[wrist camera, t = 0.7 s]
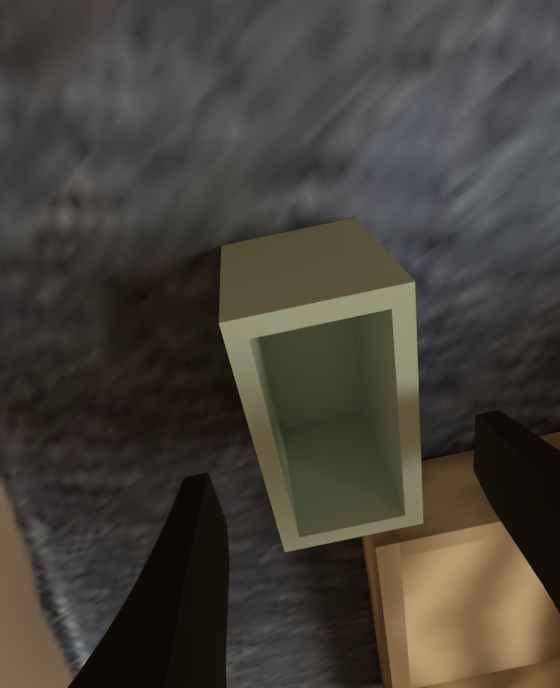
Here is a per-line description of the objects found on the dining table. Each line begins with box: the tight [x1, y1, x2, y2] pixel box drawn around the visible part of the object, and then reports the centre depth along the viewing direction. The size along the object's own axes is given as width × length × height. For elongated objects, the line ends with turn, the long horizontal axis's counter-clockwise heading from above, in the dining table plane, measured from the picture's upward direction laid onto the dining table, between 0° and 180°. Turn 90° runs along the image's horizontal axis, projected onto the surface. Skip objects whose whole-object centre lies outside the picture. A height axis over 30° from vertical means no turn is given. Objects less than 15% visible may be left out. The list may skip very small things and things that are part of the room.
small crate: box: [219, 217, 423, 552], centre depth 16 cm, size 5×9×6 cm, turn 10°
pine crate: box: [361, 432, 560, 688], centre depth 26 cm, size 14×22×4 cm, turn 10°
